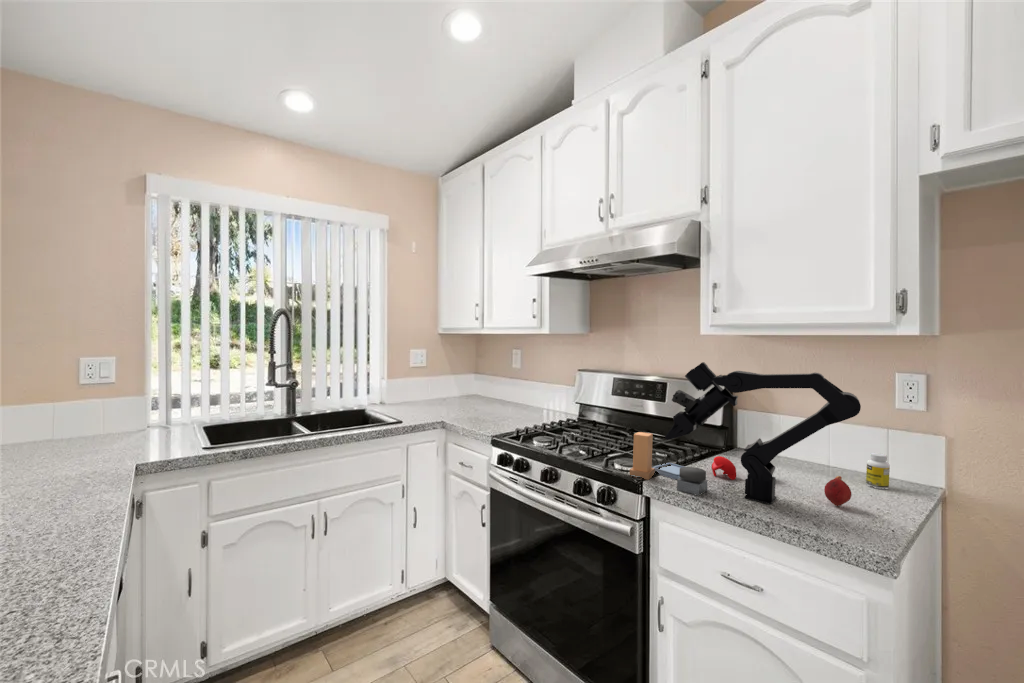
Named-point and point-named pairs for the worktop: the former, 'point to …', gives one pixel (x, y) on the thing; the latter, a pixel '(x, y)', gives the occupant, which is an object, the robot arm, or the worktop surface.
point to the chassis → (669, 470)
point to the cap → (724, 467)
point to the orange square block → (642, 455)
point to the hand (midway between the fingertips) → (669, 435)
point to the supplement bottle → (878, 471)
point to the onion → (837, 491)
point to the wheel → (692, 474)
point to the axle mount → (691, 486)
